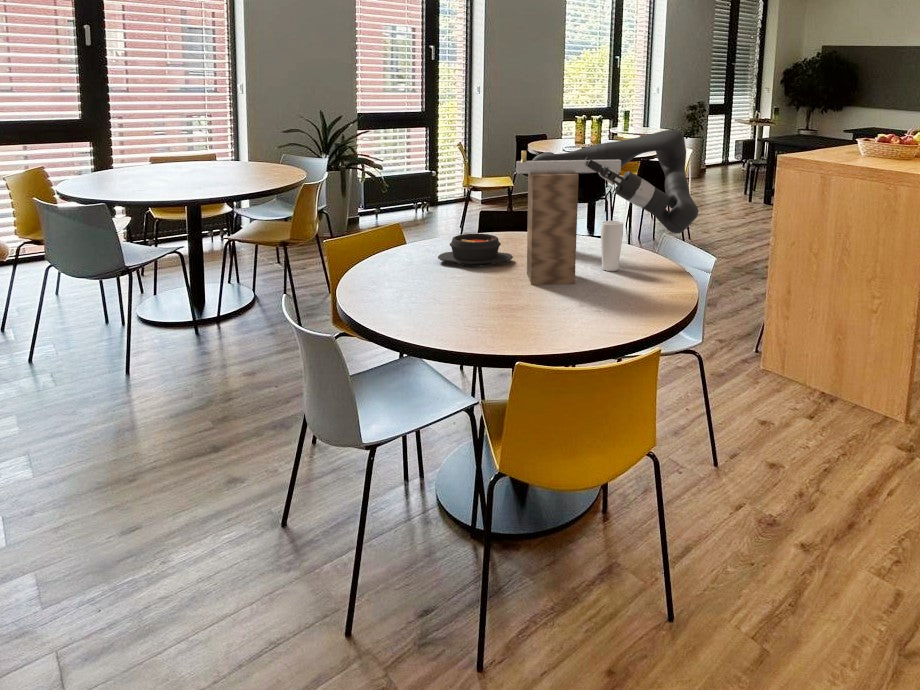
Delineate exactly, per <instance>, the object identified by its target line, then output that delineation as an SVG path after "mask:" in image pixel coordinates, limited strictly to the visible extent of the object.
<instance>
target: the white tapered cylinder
mask: <svg viewBox="0 0 920 690" xmlns="http://www.w3.org/2000/svg"><path fill="white" fill-rule="evenodd" d="M600 227H601V228H600V244H601V247H600V248H601V269H602V270H603V271H605V270H606V271H607V272H615V271H618V270H619V269H620V257H621V252H622V244H623V237H624V222H622V221H619V220H605V221H602V222H601V226H600Z"/></svg>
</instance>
